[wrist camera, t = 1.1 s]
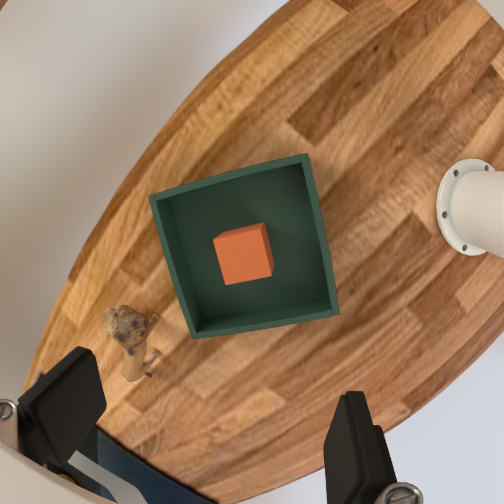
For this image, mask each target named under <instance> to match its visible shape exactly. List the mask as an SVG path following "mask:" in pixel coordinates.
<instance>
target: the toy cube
mask: <svg viewBox="0 0 504 504" xmlns="http://www.w3.org/2000/svg"><path fill="white" fill-rule="evenodd" d="M213 242H214V245H215V249H216V253H217V256H218V260H219V263H220V267H221V271H222V274H223V278H224V281H225V285H229V284H234V283H240V282H245V281H250V280H255V279H260V278H265V277H270V276H272V272H273V267H274V259H273V255H272V251H271V247H270V242H269V238H268V234H267V230H266V226H265V222H263V223H258V224H254V225H249V226H245V227H241V228H237V229H232V230H228V231H224V232H222V233H221V234H220V235H219V236H217V237H216V238H215V239H213Z"/></svg>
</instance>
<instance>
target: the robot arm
mask: <svg viewBox="0 0 504 504" xmlns="http://www.w3.org/2000/svg"><path fill="white" fill-rule="evenodd" d="M436 212H437V220H438V224H439V227H440V230H441V232H442V235H443V236H444V238H445V240H446V241H447V242H448V243H449V245H450V246H451V247H452V248H454V249H455V250H457V251H458V252H460V253H462V254H465V255H470V256H473V255H480V254H483V253H485V252H487V251H488V252H490V253H492V254H494V255H496V256H499V257H501V258H503V259H504V171H496V170H495V169H494V168H493V167H492V166H491V165H490V164H488V163H486V162H485V161H483V160H479V159H464V160H461V161H459V162H457V163H455V164H454V165H453V166H451V167H450V169H449V170H448V171H447V172H446V173H445V175H444V177H443V179H442V181H441V183H440V186H439V189H438V194H437V201H436ZM442 213H443V216H442ZM18 402H19V404H18V405H17V406H16V404H15V403H14V402H13V401H11V400H8V399H0V504H117V503H115V502H112V501H110V500H108V499H105V498H103V497H101V496H98V495H96V494H94V493H92V492H89V491H87V490H85V489H83V488H81V487H79V486H77V485H75V484H73V483H71V482H69V481H67V480H65V479H63V478H61V477H60V476H58V475H56V474H54V473H52V472H51V471H49V470H47V465H46V462H47V461H48V460H49V461H50V462H52V463H53V464H55V465H57V466H59V467H61V465H62V464H63V463H66V462H67V461H68V460H69V459H70V458H71V456H72V455H73V453H74V452H75V451H76V449H77V448H78V447H79V445H80V444H81V443H82V441H83V440H84V438H85V437H86V436H87V434H88V433H89V432H90V430H91V429H92V428H93V426H94V425H95V424H96V422H97V421H98V420H99V418H100V417H101V416H102V414H103V413H104V412H105V410H106V406H107V403H106V399H105V396H104V392H103V388H102V384H101V380H100V375H99V371H98V366H97V362H96V357H95V355H94V354H93V353H92V351H91V350H90V349H86V348H83V347H80V346H78V347H76V348H75V349H74V350H72V351H71V352H70V353H69V354H68V355H67V356H65V357H64V358H63V359H62V360H61V361H60V362H59V363H57V364H56V365H55V366H54V367H53V368H52V369H51V370H50V371H48V372H47V373H46V374H45V375H44V376H43V377H42V378H41V379H40V380H38V381H37V382H36V383H35V384H34V385H33V386H32V387H31V388H30V389H29V390H27V391H26V392H25V393H24V394H23V395H22V396H21V397H20V398H19V399H18ZM323 451H324V464H325V476H326V492H327V504H423V495H422V493H421V491H420V490H419V489H418V488H417V487H416V486H414V485H412V484H409V483H406V482H398V483H397V479H396V476H395V472H394V468H393V465H392V461H391V457H390V454H389V450H388V447H387V444H386V440H385V437H384V434H383V430H382V428H381V426H380V425H373V422H372V419H371V415H370V412H369V409H368V405H367V402H366V399H365V395H364V393H363V391H347V392H346V394H345V395H341V396H340V399H339V402H338V405H337V408H336V411H335V414H334V417H333V420H332V422H331V425H330V428H329V431H328V434H327V436H326V439H325V442H324V448H323Z"/></svg>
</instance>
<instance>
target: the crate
mask: <svg viewBox="0 0 504 504" xmlns="http://www.w3.org/2000/svg"><path fill="white" fill-rule="evenodd" d="M148 197H149V201H150V205H151V209H152V212H153V216H154V220H155V223H156V227H157V231H158V234H159V238H160V241H161V245H162V248H163V252H164V255H165V258H166V262H167V265H168V268H169V271H170V275H171V278H172V281H173V284H174V287H175V290H176V293H177V296H178V299H179V302H180V305H181V308H182V311H183V314H184V317H185V320H186V323H187V326H188V328H189V331H190V334H191V337H192V339H199V338H207V337H215V336H222V335H229V334H236V333H242V332H249V331H255V330H261V329H267V328H273V327H279V326H284V325H290V324H295V323H300V322H306V321H311V320H316V319H321V318H325V317H330V316H334V315H339V314H340V311H339V305H338V298H337V292H336V286H335V280H334V274H333V269H332V263H331V258H330V252H329V247H328V242H327V237H326V232H325V227H324V222H323V217H322V212H321V208H320V203H319V199H318V194H317V190H316V186H315V181H314V177H313V173H312V169H311V165H310V161H309V157H308V154H307V153H305V154H301V155H296V156H291V157H287V158H282V159H278V160H274V161H270V162H266V163H261V164H257V165H253V166H249V167H246V168H242V169H238V170H234V171H230V172H227V173H223V174H219V175H216V176H212V177H209V178H205V179H202V180H198V181H195V182H191V183H188V184H185V185H181V186H178V187H175V188H172V189H169V190H165V191H162V192H159V193H156V194H153V195H150V196H148ZM263 222H265V226H266V230H267V234H268V238H269V242H270V247H271V251H272V255H273V259H274V267H273V272H272V276H270V277H265V278H260V279H255V280H250V281H245V282H240V283H234V284H229V285H225V281H224V278H223V274H222V271H221V267H220V263H219V260H218V256H217V253H216V249H215V245H214V242H213V239H215V238H216V237H217V236H219V235H220V234H221V233H222V232H224V231H228V230H232V229H237V228H241V227H245V226H249V225H254V224H258V223H263Z"/></svg>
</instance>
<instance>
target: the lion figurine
mask: <svg viewBox="0 0 504 504" xmlns="http://www.w3.org/2000/svg"><path fill="white" fill-rule="evenodd" d="M103 316H104V317H105V319H106V325H105V329H106V334H107V336H111V337H113V338H114V340H117V342H118V343H119V344H120V345H122V346H123V347H124V365H123V366H122V369H121V372H122V375H123V377H124V378H126V380H127V381H128V382H133V381H137V380H139V379H140V378H141V377H142V376H143V375H147V376H148V377H151V378H152V374H151V373H150V372H146V371H147V369H148V368H149V366H150V365H151V364H152V363H153V362H154V361H155V360H156V359H157V358H158V357H159V356H160V352H159V351H158V350H154V351H153V354H152V356H151V358H150V359H149V360H148V361H147V362H144V363H143V360H144V357H145V355H146V349H147V343H146V339H147V338H148V336H149V334H150V333H151V331H152V329H153V328H154V326H155V325H156V324H157V323H158V322H159V321H160V316H159V315H158V314H153V316H152V318H151V319H150V322H149V323H147V322H146V321H145V318H144V316H143V314H141V313H137V312H136V311H135V310H133V309H132V308H131V307H129V306H127V305H120V306H119V308H118V309H117V310H116V309H115V308H113V309H111V308H108V309H106V310H104V311H103ZM142 363H143V364H142Z"/></svg>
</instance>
